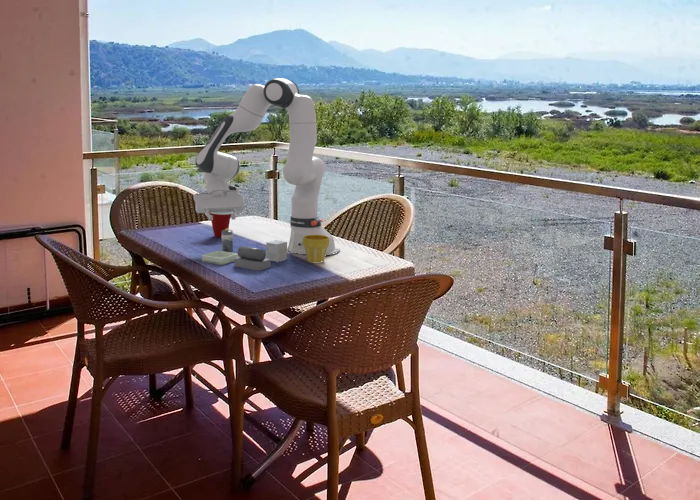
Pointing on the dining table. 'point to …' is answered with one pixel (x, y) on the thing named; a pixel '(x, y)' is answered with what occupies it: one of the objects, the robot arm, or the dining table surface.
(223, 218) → the plastic cup
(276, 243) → the product box
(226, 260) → the tray
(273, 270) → the dining table surface
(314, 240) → the plant pot
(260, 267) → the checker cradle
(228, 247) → the battery cell
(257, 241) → the dining table surface
